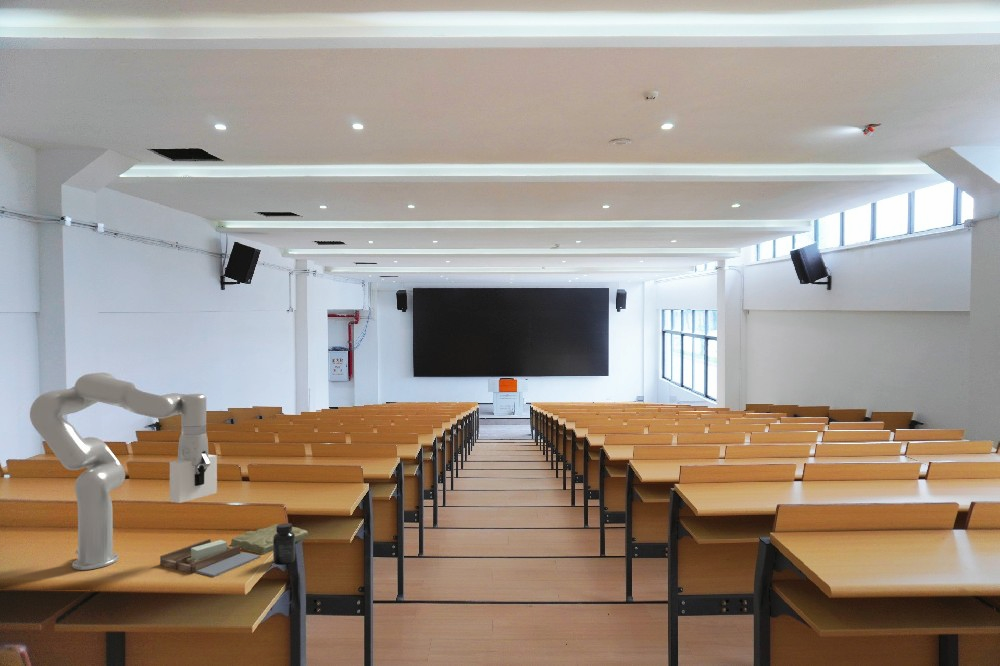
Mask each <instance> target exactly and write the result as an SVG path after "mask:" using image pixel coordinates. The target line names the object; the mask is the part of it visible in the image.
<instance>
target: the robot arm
mask: <svg viewBox="0 0 1000 666" xmlns="http://www.w3.org/2000/svg"><path fill="white" fill-rule="evenodd" d="M96 403H103V404H108V405H112V406H116V407H120V408H123V409H124V410H125V411H126V410H127V411H128V412H131V413H134V414H136V415H141V416H144V417H149V418H154V419H166V418H169V417H173V416H177V415H181V420H180V421H181V426H180V427H181V434H180V435H179V440H178V447H177V449H178V450H177V460H189V461H191V465H192V466H195V469H196V474H195V486H199V485H203V484H204V473H205V472H206V469H207V467H208V466H209V465H210V462H209V460H208V454H209V443H208V436H207V397H206V395H205V394H202V393H188V394H185V393H167V394H163V395H159V394H154V393H150V392H146V391H143V390H140V389H138V388H136V385H135V383H133V382H130V381H127V380H126V381H125V380H121V379H117V378H116V377H115V376H114V375H113V374H110V373H107V372H96V373H94V372H93V373H88V374H87V373H86V374H83V375H82V376H80V377H79V378H78V379H77V380H76V381H75V384H74V386H72V387H70V388H65V389H64V388H63V389H56V390H51V391H48V392H45V393H42V394H40V395H39V396H38V397H37V398H36V399H34V401H33V403H32V404H31V407H30V411H29V418H30V420H29V421H31V424H32V426H33V428H34V430H35V431H36V432H37V433H38V434H39V435H40V436H41V437H42V439H43V440H44V441H45V443H46V444H47V446H48V447H49V449H50V450H51V451H52V453H53V454H54V455H55V457H56V458H57V459H58V461H59V462H60V463H61V465H62V466H63V467H64V468H65V469H67V470H70V471H77V470H82V469H84V468H86V469H87V470H85V471H83V472H81V474H80V475H78V477H77V478H76V480H75V483H74V493H75V497H76V503H77V550H75V551H74V552H75V554H76V555H77V559H76V560H74V561H73V562H72V565H71V567H72V569H74V570H79V571H80V570H82V571H84V570H85V571H86V570H94V569H100V568H103V567H106V566H110V565H112V564H113V563H115V562H117V561H118V560H119V555H118V553H115V552H114V551H113V550H114V548H113V547H114V546H113V545H114V544H113V543H114V541H113V539H114V536H113V531H114V529H113V528H114V524H113V523H114V522H113V521H114V520H113V519H114V517H113V516H114V515H113V514H114V513H113V510H114V509H113V502H112V498H111V495H110V492H111V491H112V490H116V489H117V488H118V487H120V486H121V485H122V484H123V482H124V481H125V478H126V472H125V468H124V466H123V464H121V462H120V461H119V459H118V458H117V457H116V456H115V453H114V452H112V450H111V448H110V447H109V446H108V445H107V444H106V442H105V441H103V440H102V439H99V438H97V437H94V436H91V437H90V436H89V437H84V438H83V437H82V436H81V435H80V434H79V432H78V431H77V429H76V427H74V425H72V424H71V423H70V422H69V421H67V419H65V418H63V416H65V415H70V414H71V415H72V414H75V413H77V412H81V411H83V410H85V409H87V408H89V407H91V406H93V405H94V404H96ZM200 462H202V464H200ZM199 466H201V467H200V469H199Z"/></svg>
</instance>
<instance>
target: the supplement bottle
mask: <svg viewBox="0 0 1000 666" xmlns="http://www.w3.org/2000/svg"><path fill="white" fill-rule="evenodd" d="M292 527H293V524H292V523H290V522H289V523H288V522H287V523H286V522H285V523H284V522H283V523H278V525H277V527H276V532H277V533H276V534H275V535H274V537H273V551H272V552H273V555H272V559H273V563H274V564H275V565H278V566H285V565H289V564H292V563H293V562H295V560H296V542H295V534H294V533H293V532H292Z"/></svg>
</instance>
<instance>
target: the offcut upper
mask: <svg viewBox="0 0 1000 666" xmlns="http://www.w3.org/2000/svg"><path fill="white" fill-rule="evenodd" d="M227 546H228V541H225V540H222V539H219V540H215V541H211V543H207V544H204V545H200V546H197V547H193V548H191V557H192V558H194V559H196V560H199V559H202V558H205V557H209V556H212V555H214V554H217V553H220V552H222V551H225V550H227Z"/></svg>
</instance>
